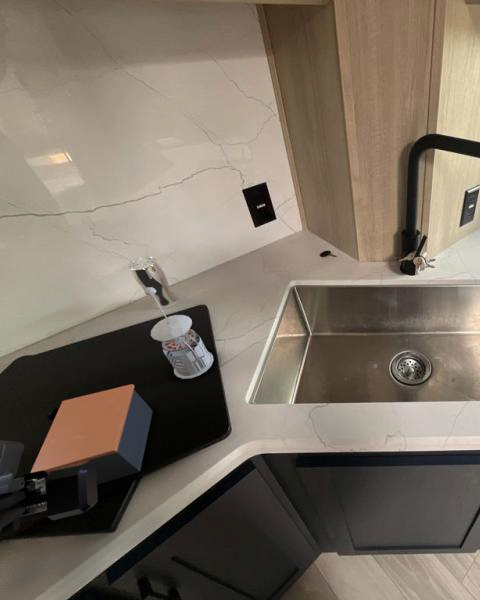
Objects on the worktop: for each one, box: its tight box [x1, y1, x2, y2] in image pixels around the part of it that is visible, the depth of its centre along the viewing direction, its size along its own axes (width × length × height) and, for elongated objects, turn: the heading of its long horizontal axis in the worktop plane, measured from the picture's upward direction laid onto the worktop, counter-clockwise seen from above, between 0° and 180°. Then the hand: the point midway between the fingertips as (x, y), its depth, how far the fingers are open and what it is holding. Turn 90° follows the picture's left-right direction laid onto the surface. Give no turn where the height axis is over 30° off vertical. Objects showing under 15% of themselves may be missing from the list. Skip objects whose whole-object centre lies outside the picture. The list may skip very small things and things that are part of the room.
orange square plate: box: [29, 383, 135, 473], centre depth 59 cm, size 14×12×1 cm
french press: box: [144, 287, 214, 380], centre depth 73 cm, size 10×12×25 cm
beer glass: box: [127, 256, 178, 310], centre depth 93 cm, size 7×7×15 cm
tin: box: [48, 389, 154, 486], centre depth 62 cm, size 14×12×9 cm
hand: (53, 479), depth 49 cm, fingers closed
